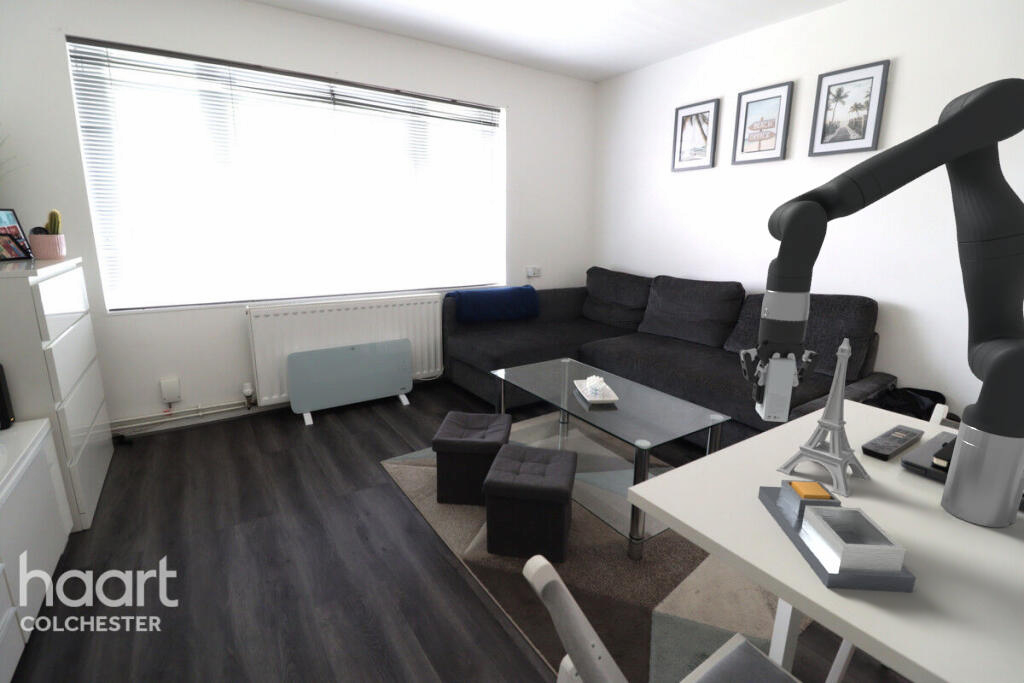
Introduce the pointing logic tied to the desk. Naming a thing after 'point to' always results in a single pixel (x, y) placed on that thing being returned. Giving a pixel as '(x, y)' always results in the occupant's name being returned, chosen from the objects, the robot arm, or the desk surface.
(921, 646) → the desk surface
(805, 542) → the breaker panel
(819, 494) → the button
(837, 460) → the eiffel tower
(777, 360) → the skincare box
